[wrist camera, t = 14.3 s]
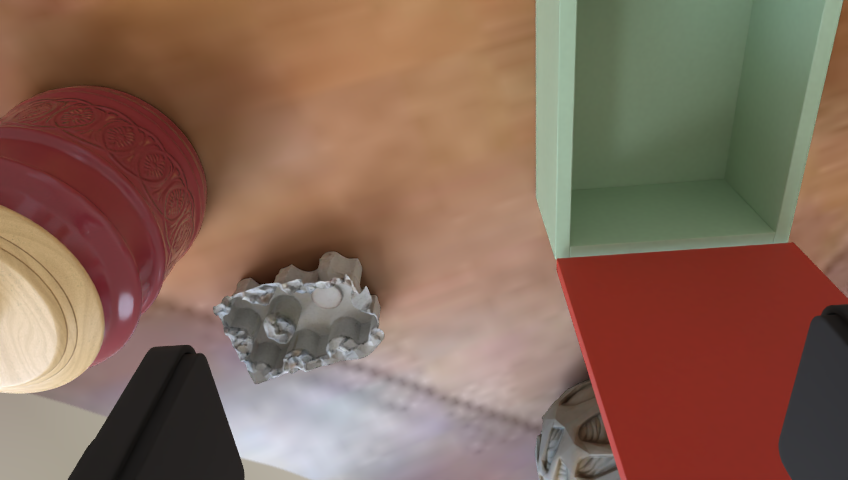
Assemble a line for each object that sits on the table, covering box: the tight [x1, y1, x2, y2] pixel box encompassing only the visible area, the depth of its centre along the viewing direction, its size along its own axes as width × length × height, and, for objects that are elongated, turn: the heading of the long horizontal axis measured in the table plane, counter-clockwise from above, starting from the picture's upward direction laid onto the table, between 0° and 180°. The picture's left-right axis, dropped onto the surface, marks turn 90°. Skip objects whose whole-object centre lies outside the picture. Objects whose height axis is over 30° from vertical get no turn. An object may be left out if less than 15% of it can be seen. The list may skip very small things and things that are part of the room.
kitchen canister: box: [0, 85, 207, 393], centre depth 34 cm, size 13×13×18 cm
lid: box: [557, 242, 848, 480], centre depth 28 cm, size 16×13×5 cm
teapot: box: [535, 379, 621, 480], centre depth 44 cm, size 21×12×15 cm, turn 156°
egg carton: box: [213, 252, 384, 384], centre depth 45 cm, size 11×8×4 cm
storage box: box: [536, 0, 843, 259], centre depth 34 cm, size 16×13×8 cm
